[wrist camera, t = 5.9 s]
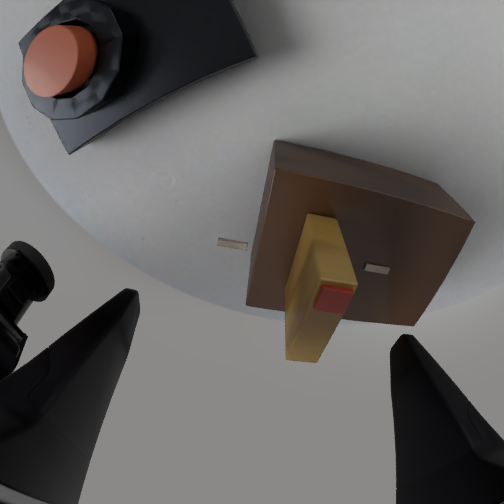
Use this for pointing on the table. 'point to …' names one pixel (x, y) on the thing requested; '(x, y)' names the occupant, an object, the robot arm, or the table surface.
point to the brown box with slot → (356, 231)
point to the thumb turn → (317, 289)
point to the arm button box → (139, 58)
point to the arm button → (60, 60)
